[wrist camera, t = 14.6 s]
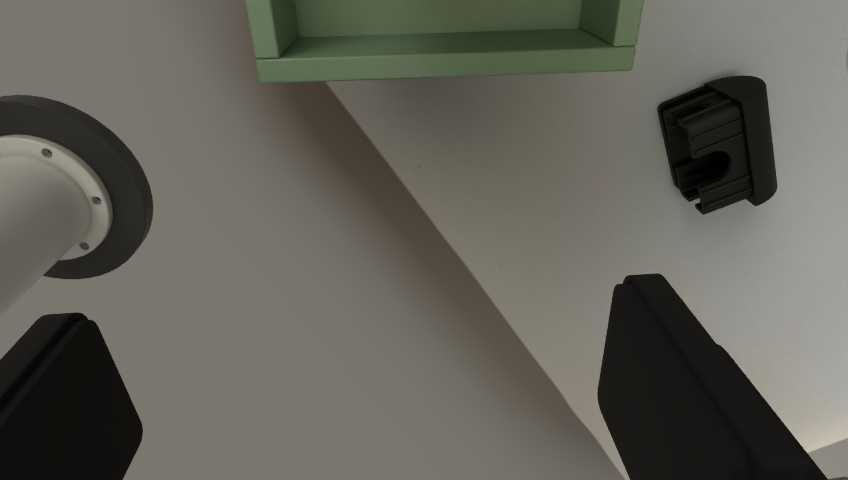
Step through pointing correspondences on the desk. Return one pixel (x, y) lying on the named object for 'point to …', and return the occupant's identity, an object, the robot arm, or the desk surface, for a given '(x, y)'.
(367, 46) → the green storage bin
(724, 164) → the end cap
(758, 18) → the desk surface
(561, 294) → the desk surface
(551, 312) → the desk surface
